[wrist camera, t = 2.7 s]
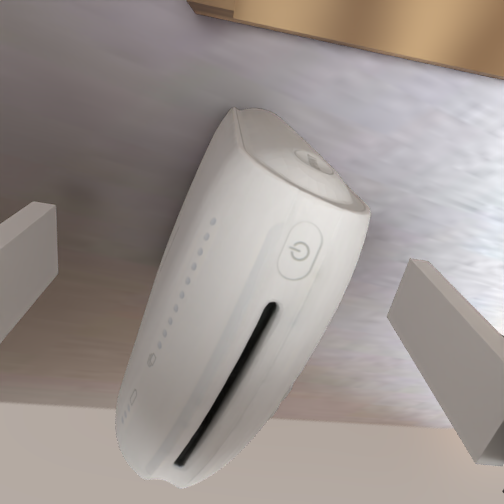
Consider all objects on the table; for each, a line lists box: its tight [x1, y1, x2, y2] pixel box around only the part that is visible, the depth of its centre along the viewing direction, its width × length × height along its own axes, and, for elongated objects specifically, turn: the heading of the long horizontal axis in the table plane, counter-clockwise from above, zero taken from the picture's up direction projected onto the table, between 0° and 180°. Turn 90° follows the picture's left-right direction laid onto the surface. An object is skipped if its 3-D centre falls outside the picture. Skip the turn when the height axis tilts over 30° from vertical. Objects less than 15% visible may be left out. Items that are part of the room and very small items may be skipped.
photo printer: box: [116, 107, 371, 489], centre depth 14 cm, size 10×4×12 cm, turn 155°
